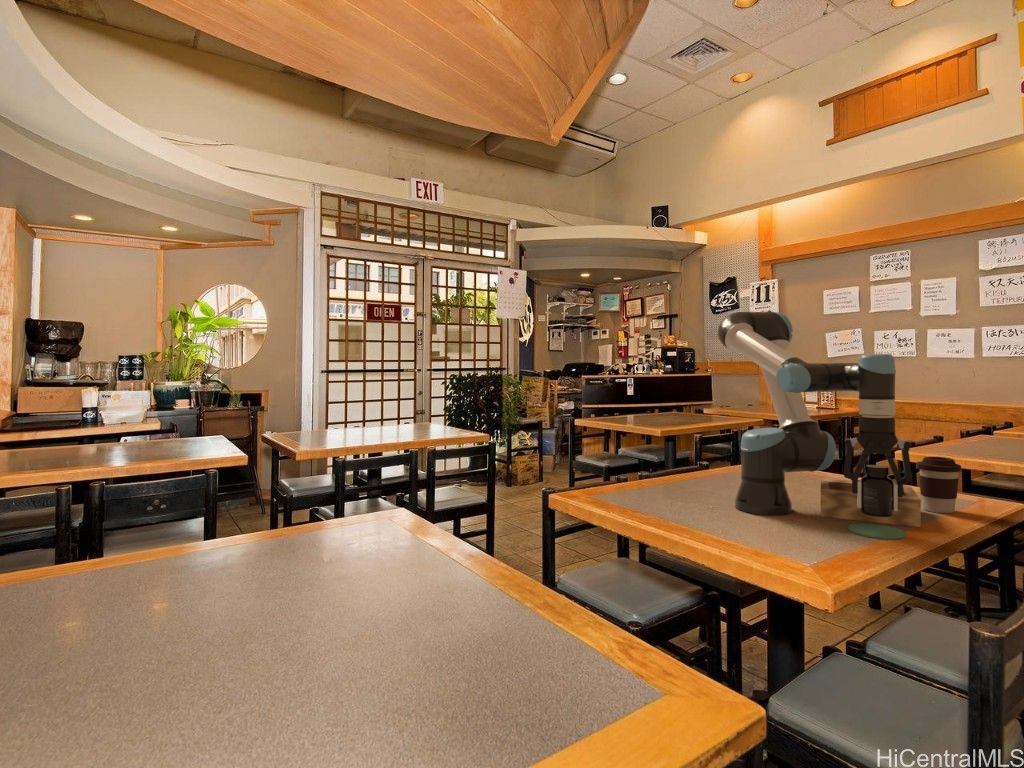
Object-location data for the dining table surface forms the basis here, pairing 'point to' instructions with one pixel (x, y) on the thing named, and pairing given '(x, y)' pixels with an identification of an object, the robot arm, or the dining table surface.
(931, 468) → the coffee cup
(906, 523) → the cover box
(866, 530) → the mat
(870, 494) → the supplement bottle
